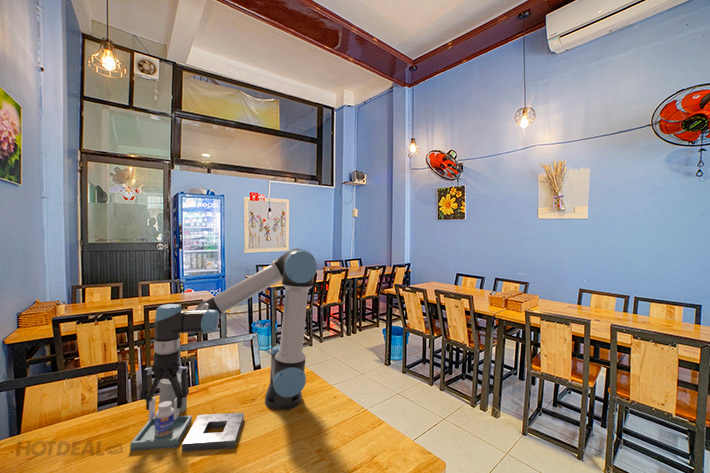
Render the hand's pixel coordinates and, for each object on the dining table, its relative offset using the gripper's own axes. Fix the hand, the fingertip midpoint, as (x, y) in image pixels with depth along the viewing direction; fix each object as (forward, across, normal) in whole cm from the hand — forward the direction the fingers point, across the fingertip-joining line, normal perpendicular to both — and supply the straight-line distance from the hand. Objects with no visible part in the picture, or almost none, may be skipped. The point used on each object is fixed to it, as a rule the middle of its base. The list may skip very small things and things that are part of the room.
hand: (164, 417), depth 105 cm
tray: (+6, 0, 0) cm, 6 cm away
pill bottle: (+5, 0, 0) cm, 5 cm away
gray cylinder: (+6, -3, +16) cm, 17 cm away
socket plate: (+6, +17, -1) cm, 18 cm away
